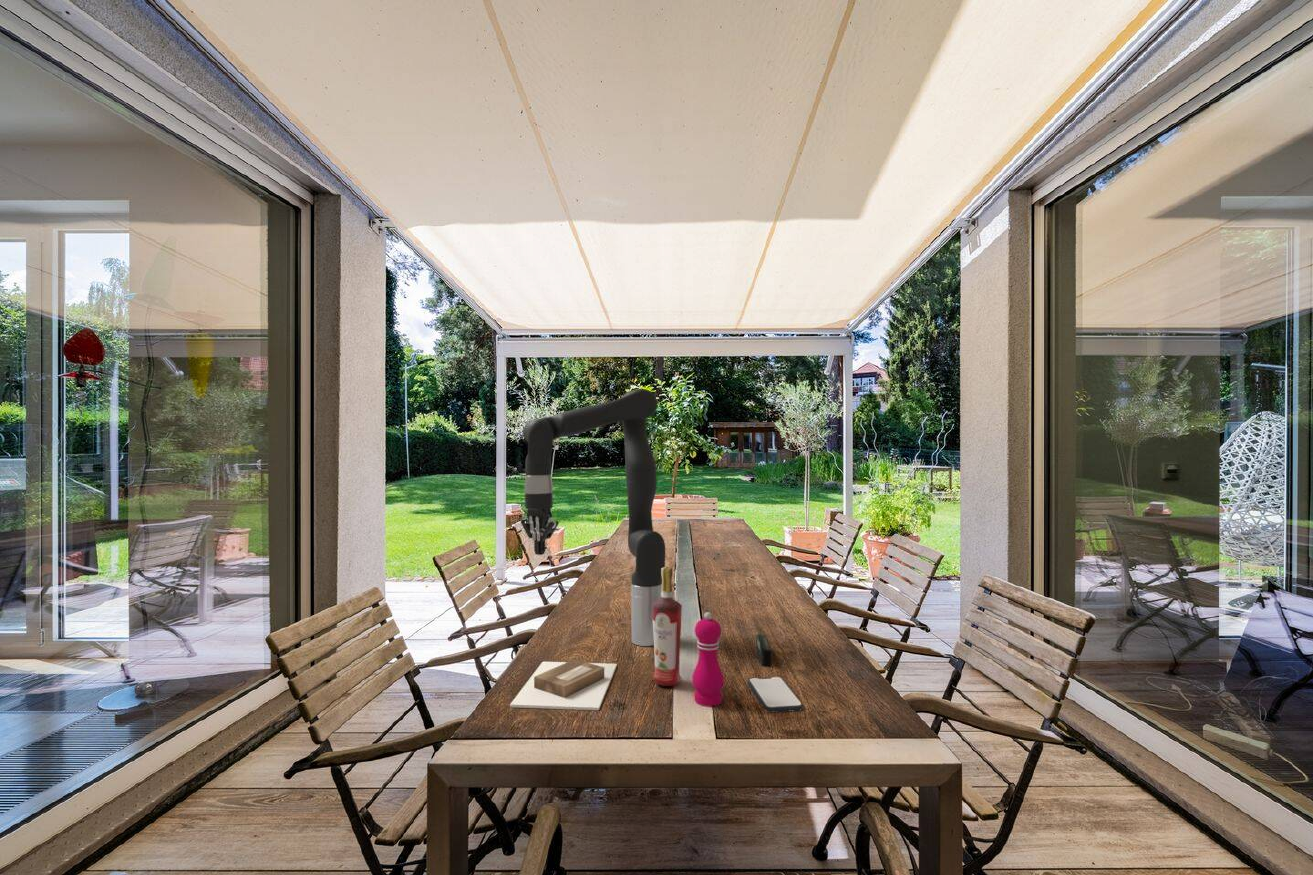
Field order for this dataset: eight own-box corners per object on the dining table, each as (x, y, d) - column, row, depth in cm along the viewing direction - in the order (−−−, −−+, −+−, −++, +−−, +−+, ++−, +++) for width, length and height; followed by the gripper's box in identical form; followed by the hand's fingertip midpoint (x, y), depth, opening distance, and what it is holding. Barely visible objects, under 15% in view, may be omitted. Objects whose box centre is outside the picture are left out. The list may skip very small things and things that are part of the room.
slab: (534, 676, 137) (564, 686, 132) (574, 658, 149) (604, 666, 143) (534, 687, 137) (564, 697, 132) (574, 669, 149) (604, 677, 143)
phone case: (805, 713, 127) (781, 682, 143) (805, 705, 127) (781, 675, 143) (766, 715, 126) (746, 684, 141) (766, 708, 126) (746, 677, 141)
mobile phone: (772, 649, 152) (763, 630, 167) (761, 649, 152) (752, 630, 167) (772, 668, 152) (763, 647, 167) (761, 668, 152) (752, 647, 167)
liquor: (647, 686, 139) (647, 570, 140) (658, 675, 146) (657, 564, 147) (676, 690, 137) (676, 572, 137) (685, 679, 144) (685, 566, 144)
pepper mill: (703, 710, 127) (702, 618, 127) (686, 697, 133) (686, 610, 134) (730, 703, 130) (730, 614, 131) (712, 691, 137) (712, 606, 137)
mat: (616, 665, 153) (616, 663, 153) (598, 710, 127) (598, 707, 127) (542, 663, 154) (542, 661, 154) (510, 707, 128) (510, 704, 128)
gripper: (565, 491, 159) (566, 554, 158) (532, 489, 166) (533, 550, 166) (545, 493, 152) (546, 558, 152) (512, 491, 160) (513, 554, 160)
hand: (539, 554), depth 159 cm, fingers closed
